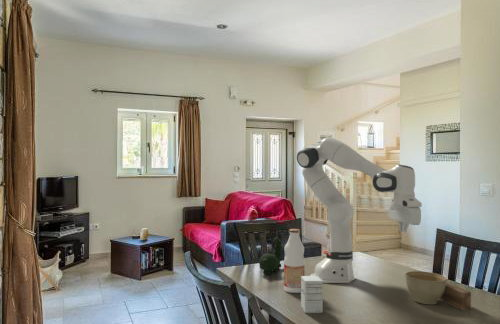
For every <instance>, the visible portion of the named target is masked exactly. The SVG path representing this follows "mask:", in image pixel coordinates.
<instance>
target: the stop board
mask: <svg viewBox="0 0 500 324" xmlns="http://www.w3.org/2000/svg"><path fill="white" fill-rule="evenodd" d="M438 300H440V301H442V302H444V303H446V304H448V305H450V306H452V307H454V308H457V309H459V310H461V311H470V310H471V309H472V308H471V307H472V304H471V303H472V292H471V291H468V290H467V289H465V288H461V287H459V286H457V285H454V284H452V283H450V282H447V281H446V286H445V290H444V293H443V294H442V296H441V297H440V298H439V299H438Z"/></svg>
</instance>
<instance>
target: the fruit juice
mask: <svg viewBox="0 0 500 324" xmlns="http://www.w3.org/2000/svg"><path fill="white" fill-rule="evenodd" d="M288 231H289V236H288V240H287V242H286V244H284V254H285V256H284V259H283V289H284V291H285V292H287V293H291V294H299V293H300V294H301V276H305V262H306V261H305V257H304V254H305V246H304V244H303V242H302V239H301V237H300V234H301V230H300V229H299V228H291V229H289V230H288Z"/></svg>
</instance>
